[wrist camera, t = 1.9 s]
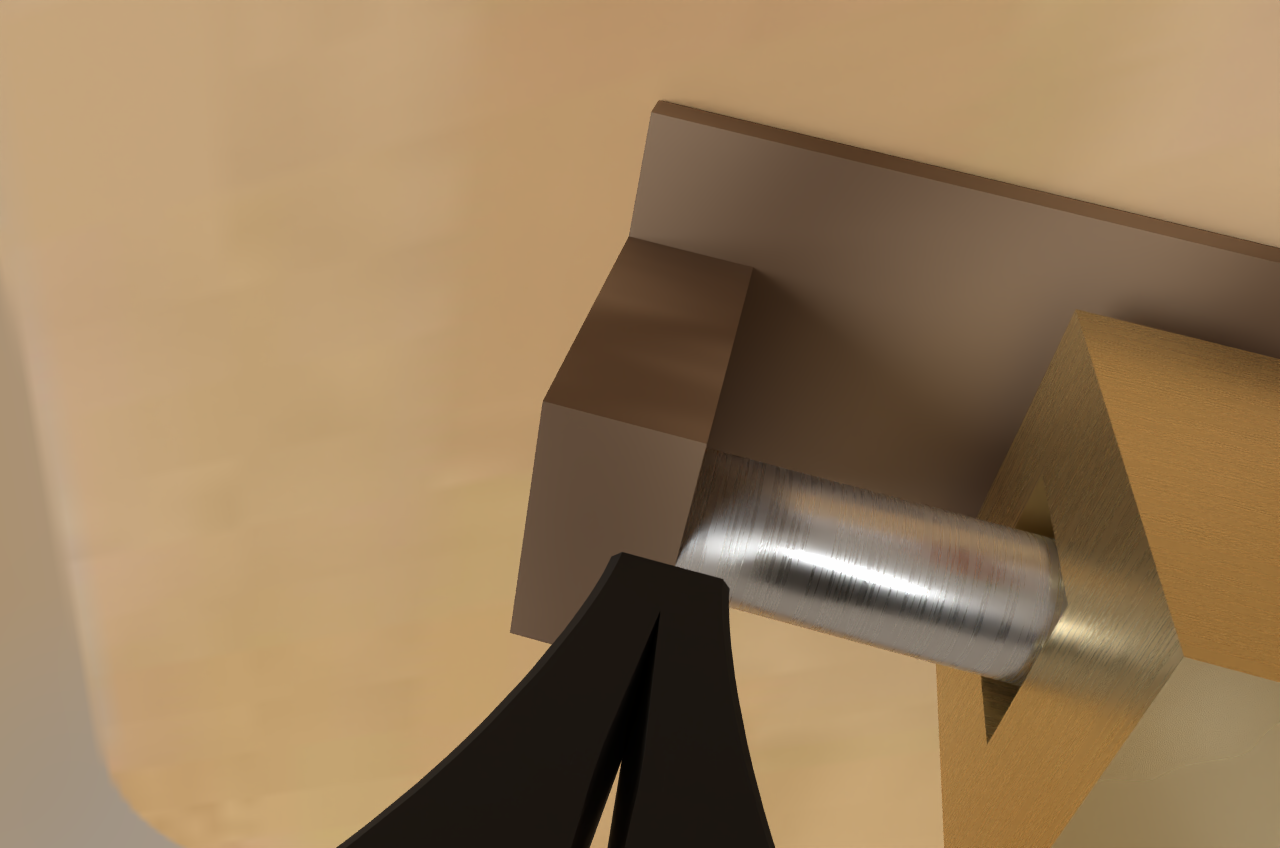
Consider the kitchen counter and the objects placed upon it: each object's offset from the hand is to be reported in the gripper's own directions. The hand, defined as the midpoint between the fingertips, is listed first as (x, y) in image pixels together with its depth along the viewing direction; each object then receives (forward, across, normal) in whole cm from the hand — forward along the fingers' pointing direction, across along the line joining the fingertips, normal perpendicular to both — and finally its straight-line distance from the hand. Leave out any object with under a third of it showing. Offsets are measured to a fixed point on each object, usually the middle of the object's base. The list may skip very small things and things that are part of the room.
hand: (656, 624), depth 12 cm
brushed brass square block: (+5, -6, 0) cm, 8 cm away
